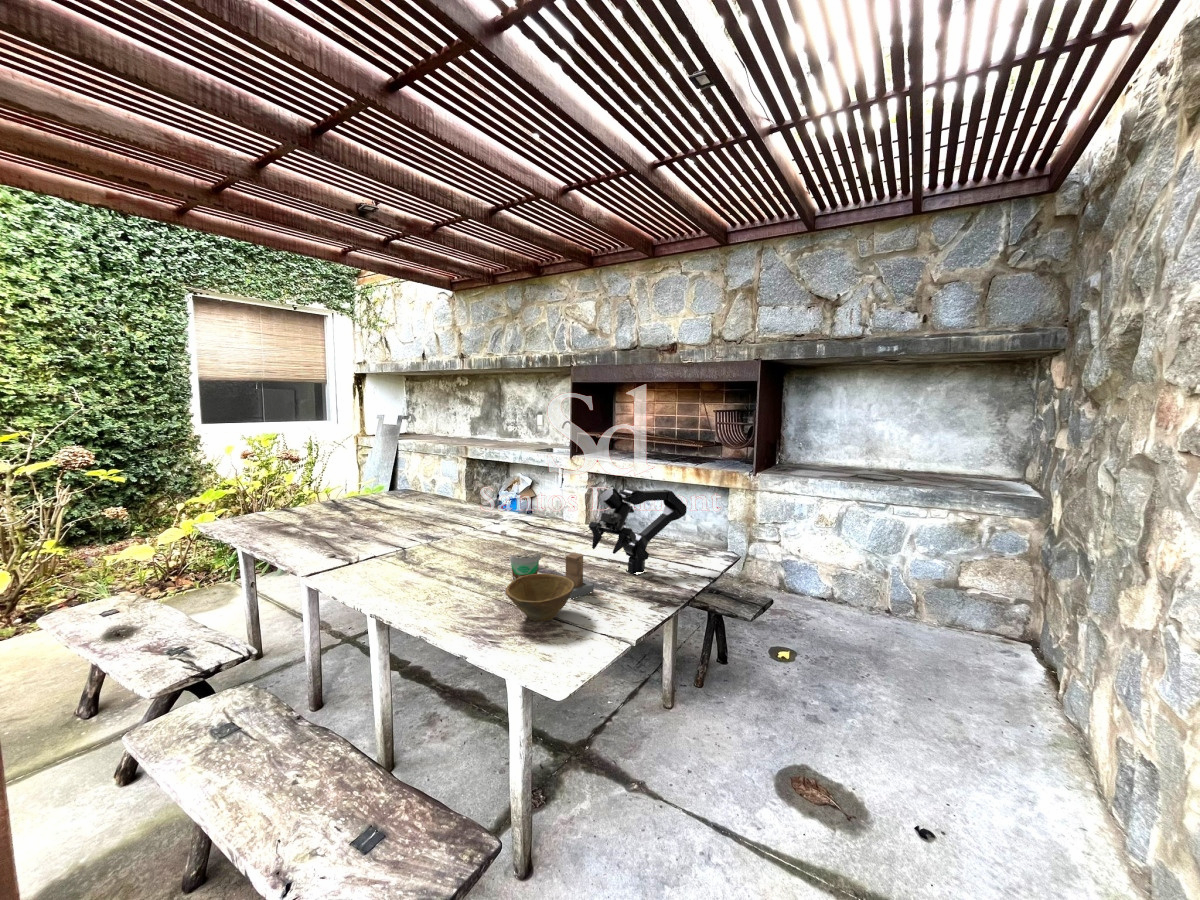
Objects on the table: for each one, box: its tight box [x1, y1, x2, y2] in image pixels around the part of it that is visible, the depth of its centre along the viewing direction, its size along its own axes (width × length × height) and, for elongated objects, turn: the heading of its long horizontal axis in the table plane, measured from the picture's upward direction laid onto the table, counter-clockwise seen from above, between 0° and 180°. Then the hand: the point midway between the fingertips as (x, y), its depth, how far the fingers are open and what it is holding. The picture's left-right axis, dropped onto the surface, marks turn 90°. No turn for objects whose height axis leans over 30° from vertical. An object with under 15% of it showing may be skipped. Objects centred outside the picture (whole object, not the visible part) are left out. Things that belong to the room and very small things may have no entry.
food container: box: [508, 552, 542, 581], centre depth 189 cm, size 12×6×10 cm, turn 105°
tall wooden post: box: [565, 552, 584, 588], centre depth 179 cm, size 4×4×13 cm
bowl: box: [505, 572, 575, 623], centre depth 160 cm, size 22×23×10 cm
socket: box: [569, 579, 595, 600], centre depth 180 cm, size 10×10×3 cm
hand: (603, 550), depth 184 cm, fingers open, 9 cm apart
